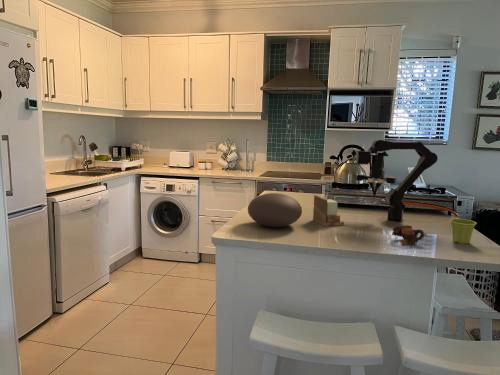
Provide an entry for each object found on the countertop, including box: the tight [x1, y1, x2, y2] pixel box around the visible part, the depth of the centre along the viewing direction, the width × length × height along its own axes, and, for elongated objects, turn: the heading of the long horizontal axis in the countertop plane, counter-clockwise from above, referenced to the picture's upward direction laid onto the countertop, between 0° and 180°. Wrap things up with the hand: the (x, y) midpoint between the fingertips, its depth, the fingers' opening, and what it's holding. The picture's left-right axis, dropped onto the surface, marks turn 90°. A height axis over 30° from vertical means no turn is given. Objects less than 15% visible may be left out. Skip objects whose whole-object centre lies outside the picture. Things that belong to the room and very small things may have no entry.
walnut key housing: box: [312, 194, 345, 227], centre depth 181 cm, size 11×12×12 cm
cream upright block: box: [326, 198, 338, 221], centre depth 181 cm, size 5×7×9 cm
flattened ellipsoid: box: [247, 192, 303, 228], centre depth 173 cm, size 25×25×15 cm
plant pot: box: [450, 218, 477, 245], centre depth 154 cm, size 9×9×9 cm
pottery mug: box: [391, 225, 425, 246], centre depth 152 cm, size 12×10×8 cm
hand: (374, 195), depth 190 cm, fingers closed
